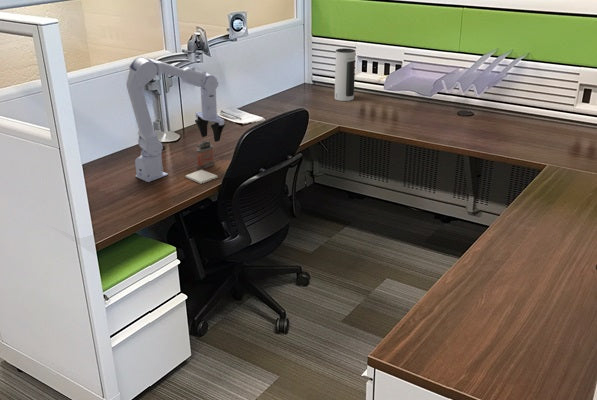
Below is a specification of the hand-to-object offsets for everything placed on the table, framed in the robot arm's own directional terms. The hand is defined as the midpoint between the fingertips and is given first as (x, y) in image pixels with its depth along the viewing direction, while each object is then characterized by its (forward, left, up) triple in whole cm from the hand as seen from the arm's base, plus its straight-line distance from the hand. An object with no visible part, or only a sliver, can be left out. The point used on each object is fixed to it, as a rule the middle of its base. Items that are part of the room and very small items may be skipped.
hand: (210, 138), depth 245 cm
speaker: (+108, +17, -11) cm, 109 cm away
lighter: (-3, 0, -11) cm, 11 cm away
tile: (-12, -8, -10) cm, 18 cm away
